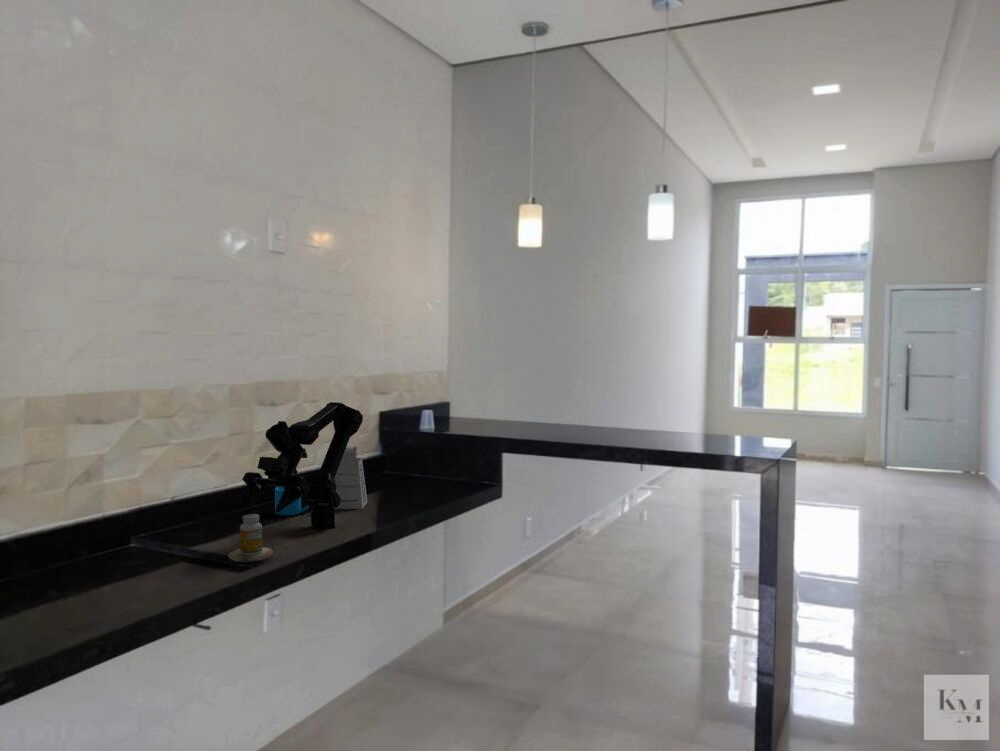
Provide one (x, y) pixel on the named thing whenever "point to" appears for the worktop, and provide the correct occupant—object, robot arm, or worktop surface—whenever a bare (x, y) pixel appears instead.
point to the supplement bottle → (251, 535)
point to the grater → (351, 481)
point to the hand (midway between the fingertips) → (262, 510)
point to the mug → (291, 508)
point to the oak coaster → (238, 556)
